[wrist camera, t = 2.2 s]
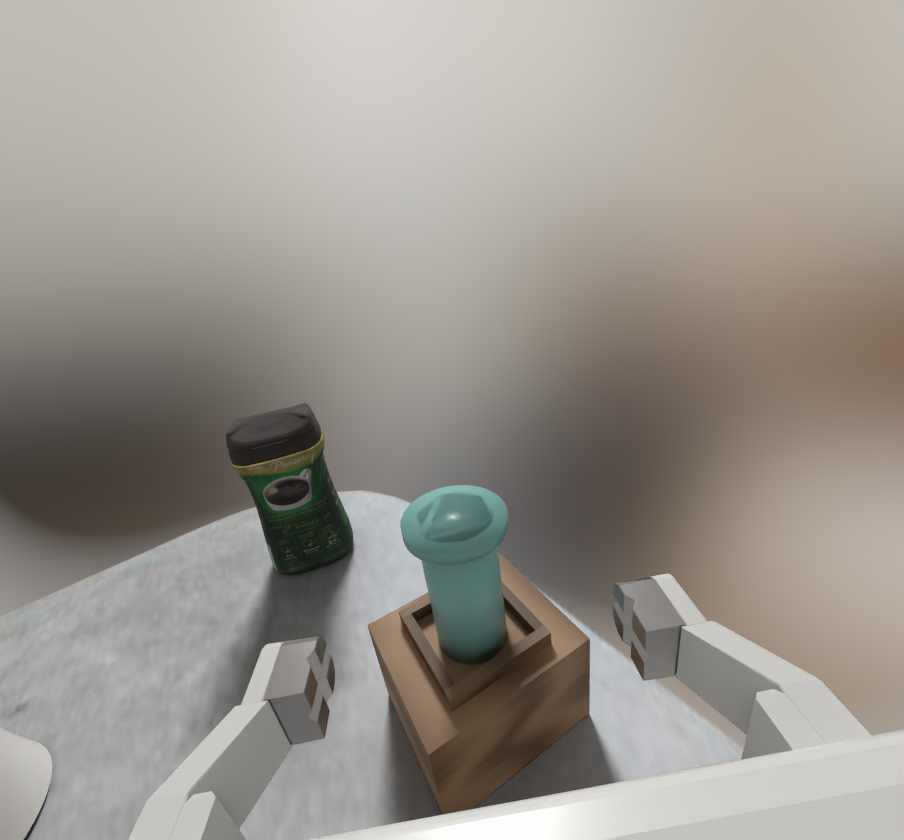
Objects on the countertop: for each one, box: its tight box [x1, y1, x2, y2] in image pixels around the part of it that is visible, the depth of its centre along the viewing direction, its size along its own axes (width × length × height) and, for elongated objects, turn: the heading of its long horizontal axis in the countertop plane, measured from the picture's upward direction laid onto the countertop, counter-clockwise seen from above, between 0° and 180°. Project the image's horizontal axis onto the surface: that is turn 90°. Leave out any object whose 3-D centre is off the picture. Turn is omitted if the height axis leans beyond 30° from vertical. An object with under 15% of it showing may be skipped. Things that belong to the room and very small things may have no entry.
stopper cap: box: [401, 485, 508, 664], centre depth 27 cm, size 6×6×10 cm
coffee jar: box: [226, 403, 353, 574], centre depth 48 cm, size 10×8×19 cm
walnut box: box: [368, 554, 590, 815], centre depth 31 cm, size 12×10×9 cm
